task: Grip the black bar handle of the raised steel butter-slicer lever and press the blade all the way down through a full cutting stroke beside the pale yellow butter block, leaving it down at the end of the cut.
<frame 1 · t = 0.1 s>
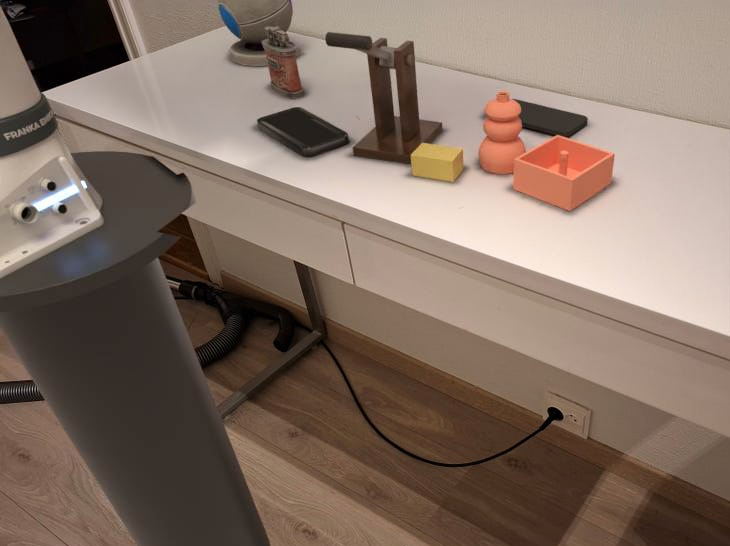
webcam: (265, 55, 129), on the table
lighter: (287, 91, 115), on the table
phone: (536, 120, 105), on the table
brown wooden frame: (399, 142, 99), on the table
butter block: (438, 172, 92), on the table
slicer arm: (372, 50, 86), point 14 cm above the table, hinge at 26.0°
phone 2: (303, 135, 102), on the table
pottery: (535, 177, 91), on the table
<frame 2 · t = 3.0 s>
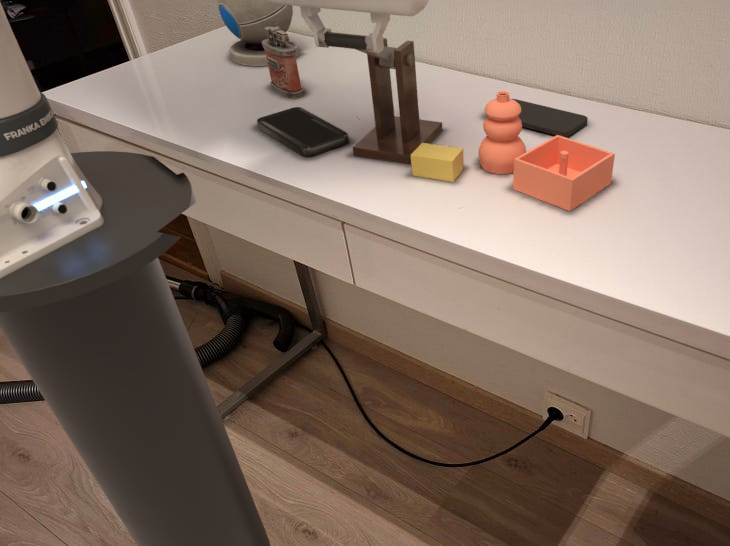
hand: (350, 48, 81), 16 cm above the table, tool pointing down, fingers closed on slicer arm, 5 cm apart
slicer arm: (372, 50, 86), point 14 cm above the table, hinge at 26.0°, touching gripper
everything else where it was.
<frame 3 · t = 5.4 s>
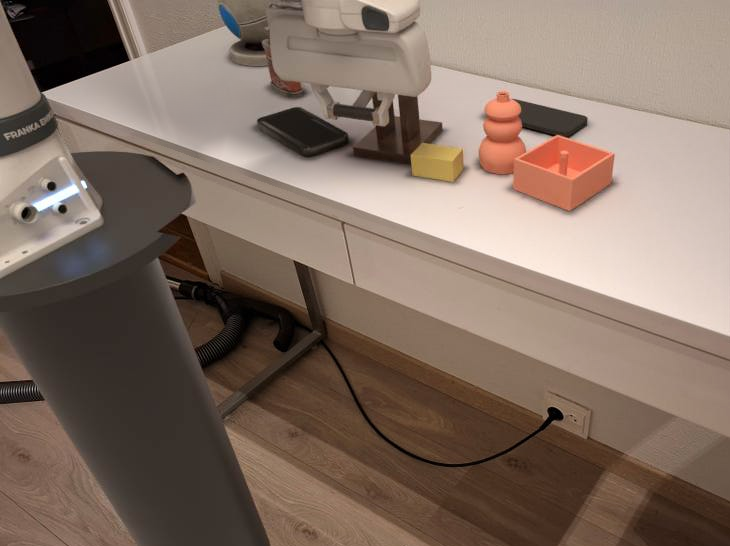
hand: (357, 121, 86), 8 cm above the table, tool pointing down, fingers closed on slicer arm, 5 cm apart
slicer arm: (374, 83, 88), point 11 cm above the table, hinge at -14.7°, touching gripper
everything else where it was.
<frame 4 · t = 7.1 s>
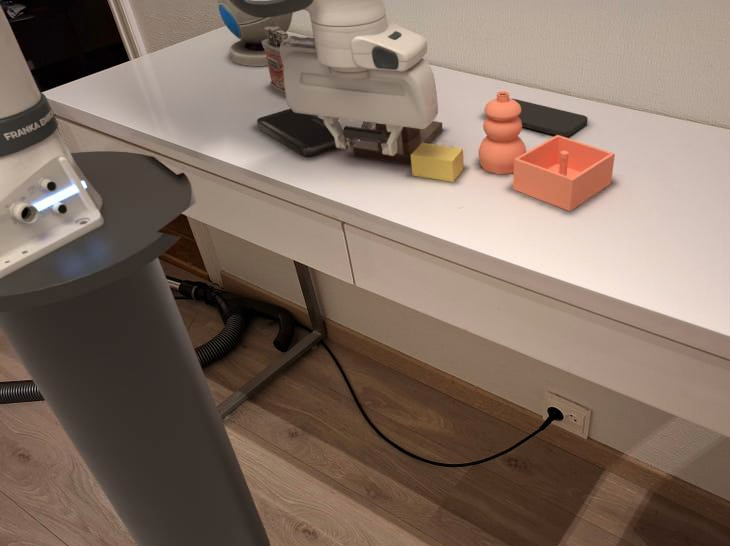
hand: (367, 150, 90), 3 cm above the table, tool pointing down, fingers closed on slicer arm, 5 cm apart
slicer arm: (378, 93, 90), point 9 cm above the table, hinge at -33.2°, touching gripper
everything else where it was.
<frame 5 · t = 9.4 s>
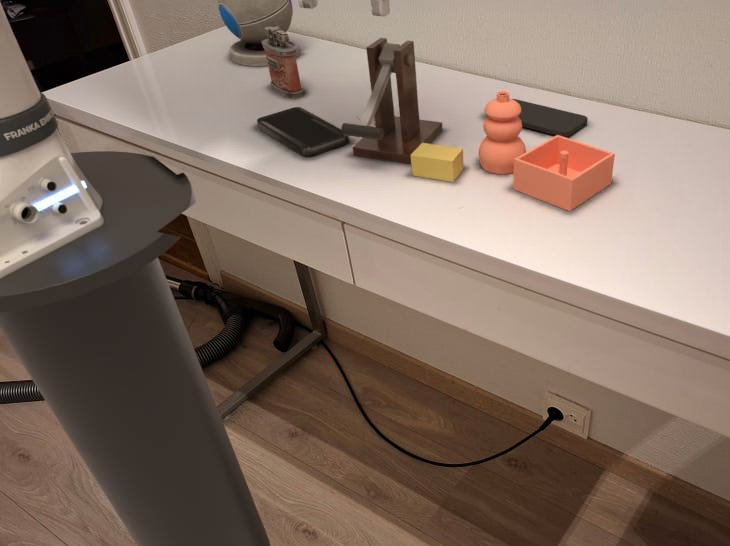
hand: (344, 11, 78), 21 cm above the table, tool pointing down, fingers open, 8 cm apart
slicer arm: (378, 92, 90), point 9 cm above the table, hinge at -30.2°
everything else where it was.
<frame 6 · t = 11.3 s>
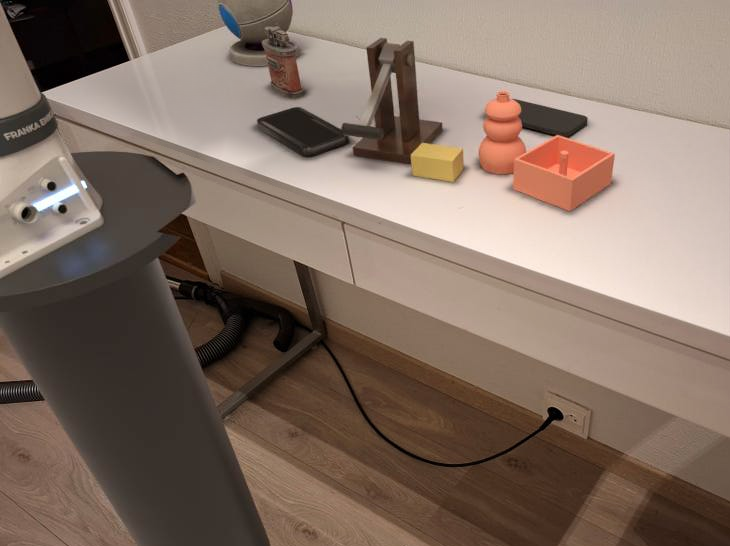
nothing on the table moved.
at the end: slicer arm reached -34° during the clip, -30° at the end; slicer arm at -30° (first picture: +26°); butter block moved 0.0 cm from its start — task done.
